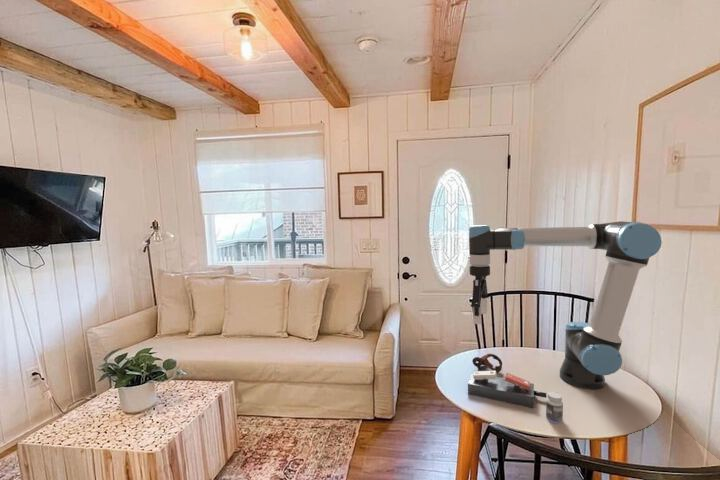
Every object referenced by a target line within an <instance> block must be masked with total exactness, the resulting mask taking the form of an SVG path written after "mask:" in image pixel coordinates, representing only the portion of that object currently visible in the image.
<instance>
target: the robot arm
mask: <svg viewBox="0 0 720 480" xmlns="http://www.w3.org/2000/svg"><path fill="white" fill-rule="evenodd" d="M662 243H663V242H662V236H661V234H660V232H659V231H658V230H657V229H656V228H655V227H653V226H652V225H650V224H647V223H643V222H640V221H623V220H621V221H613V222H612V221H611V222H604V223H591V224H589V225H588V226H570V227H569V226H558V227H557V226H556V227H555V226H553V227H550V226H549V227H500V228H497V229H491V227H490V226H489V225H488V224H487V225H486V224H483V225H482V224H479V225H478V224H477V225H471V226H469V228H468V244H469V245H468V248H469V249H468V250H469V255H468V257H467V259H469V264H470V265H469V275H470V276H473V277H475V279H473V281H472V283H473V285H472V286H473V287H472V297H471V298H472V300H471V304H470V307H471V308H472V313H473V314H472V316H473V317H472V321H473V322H472V323H473V324H475V325H482V315H488V299H489V298H490V295H489V293H488V286H487V277H488V276H489V277H490V275H491V266H490V264H491V251H492V250H493V251H494V250H498V251H499V250H509V251H510V250H511V251H512V250H513V251H515V250H523V249H524V248H525V247H587V248H589V249H590V250H603V251H605V252H606V253H605V255H604V257H605V258H606V259H607V261H608V264H607V267H606V271H605V274H604V277H603V280H602V284H601V286H600V290H599V292H598V295H597V298H596V299H597V300H596V303H595V306H594V309H593V312H592V315H591V318H590V322H583V321H581V322H580V321H570V322H567V323H566V325H565V329H564V331H565V334H564V335H565V337H564V338H565V339H564V340H565V342H564V344H565V346H564V359H563V361H562V363H561V366H560V368H559V377H560V379H561V380H563V381H564V382H565V383H568V384H570V385H572V386H575V387H578V388H582V389H587V390H588V389H589V390H599V389H602V388H604V387H605V385H606V379H605V376H610V375H612V374H615V373H617V372H618V371H619V370H620V369H621V367H622V365H623V358H622V354H621V352H620V349H621V346H622V343H623V340H622V338H621V337H620V335H619V333H620V331H621V328H622V325H623V322H624V318H625V315H626V313H627V309H628V306H629V303H630V300H631V296H632V294H633V291H634V287H635V284H636V281H637V278H638V275H639V272H640V270H641V269H643V268H645V267H647V266H648V263H649V261H650V258H652V257H653V256H655V255H656V254H657V253H658V252H659V250H660V249H661V247H662Z"/></svg>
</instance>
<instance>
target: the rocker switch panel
mask: <svg viewBox="0 0 720 480" xmlns="http://www.w3.org/2000/svg"><path fill="white" fill-rule="evenodd" d="M473 374H474V371H472V372H471V374H470V377H469V379H468V382H467V395H471V396H476V397H481V398H486V399H490V400H495V401H499V402H503V403H506V404H507V403H508V404H513V405H517V406H522V407H526V408H531V409H534V404H535V403H534V402H535V400H534V399H535V397H540V398H546V399H547V392H542V391H537V390H535V384H534V383H531V382H530V387H529V390H526V389H524V388H521V387H519V386H516V385H514V384H512V383H509V382H507V381H505V377H499V376H496V379H485V380H484V379H477V380H474V377H473Z"/></svg>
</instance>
